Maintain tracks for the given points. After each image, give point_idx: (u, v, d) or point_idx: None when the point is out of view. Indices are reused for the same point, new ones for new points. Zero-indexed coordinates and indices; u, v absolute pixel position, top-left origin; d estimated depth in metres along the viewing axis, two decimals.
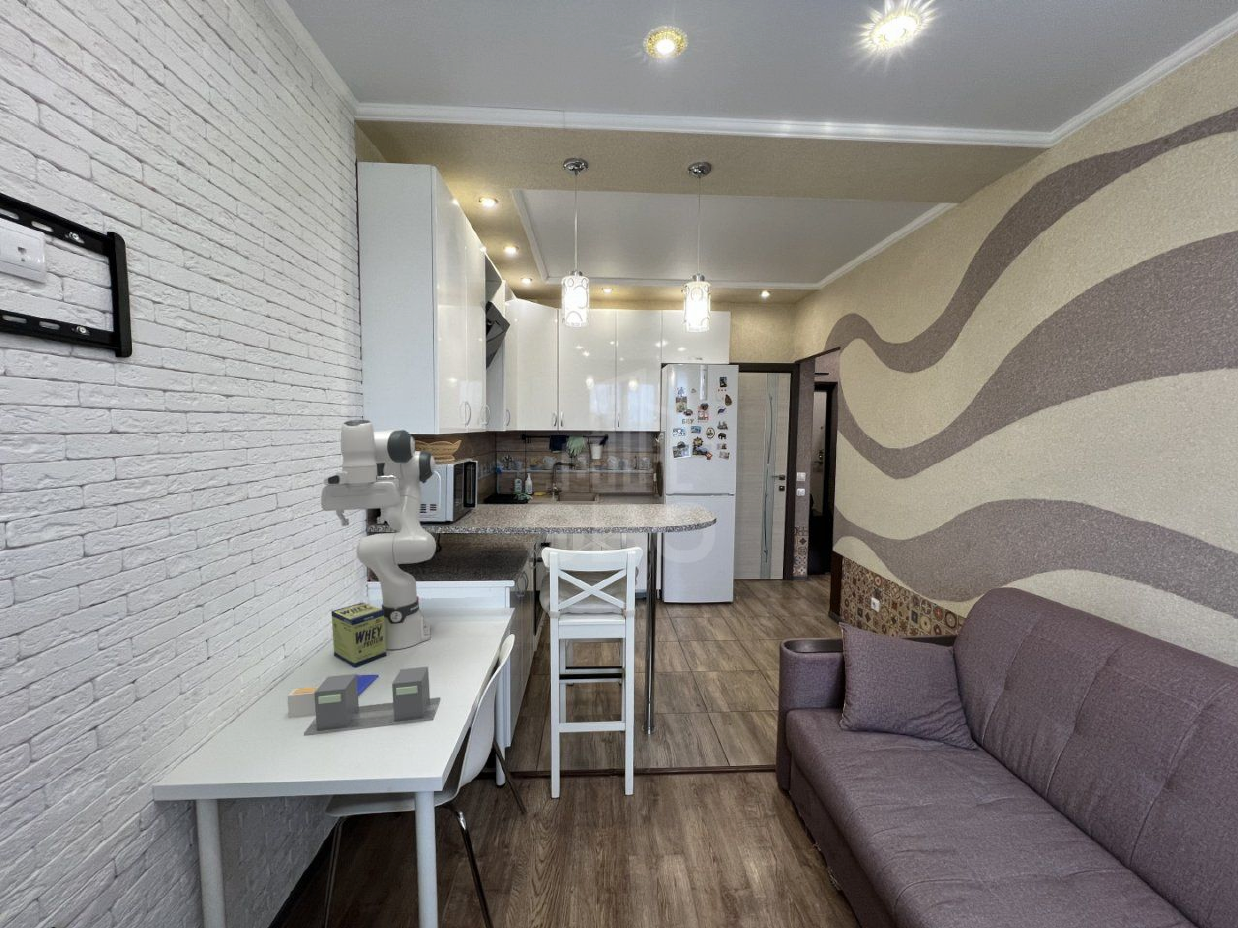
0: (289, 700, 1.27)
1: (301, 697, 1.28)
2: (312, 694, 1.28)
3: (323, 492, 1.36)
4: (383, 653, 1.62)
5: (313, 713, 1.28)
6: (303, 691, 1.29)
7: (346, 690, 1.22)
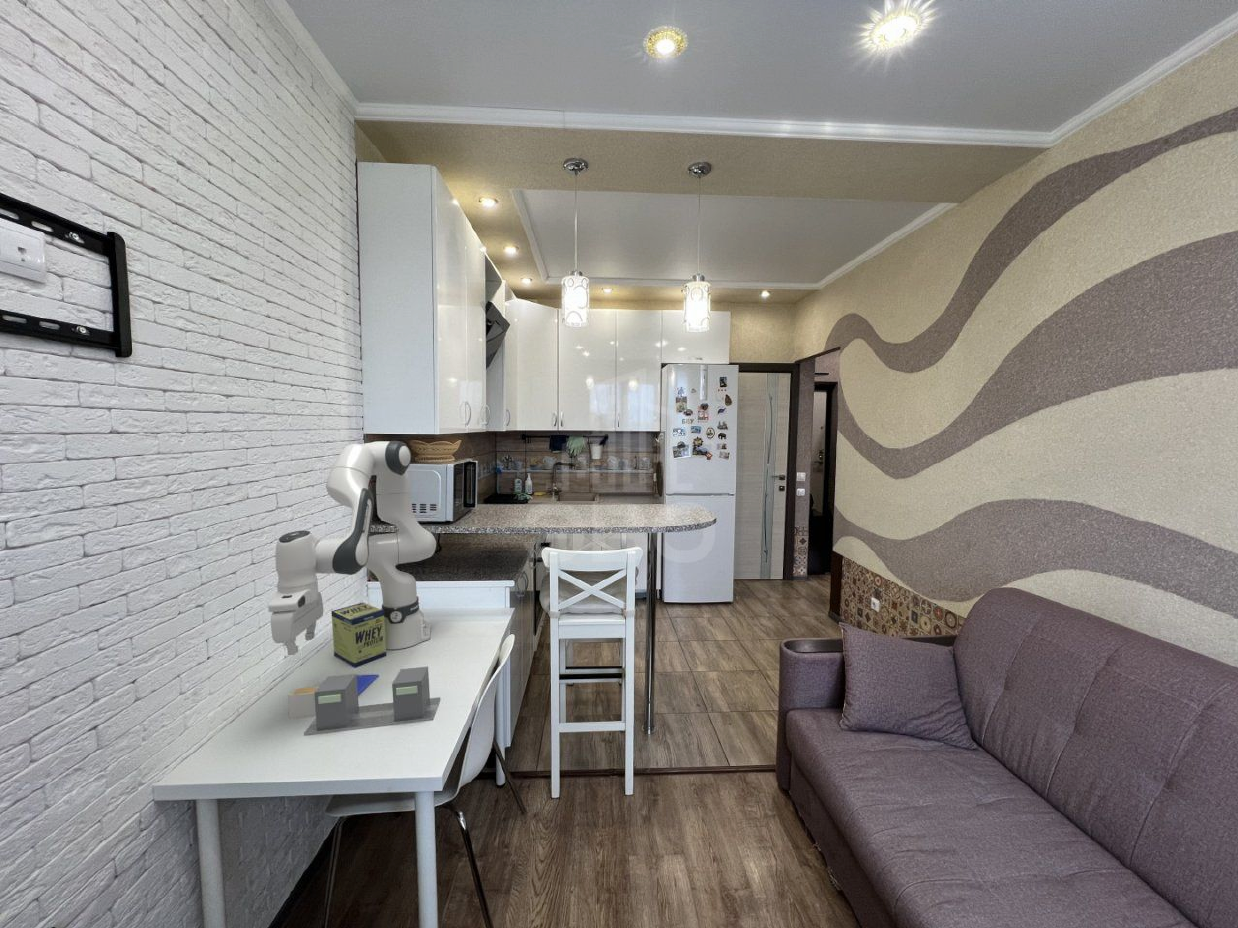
0: (289, 700, 1.27)
1: (301, 697, 1.28)
2: (312, 694, 1.28)
3: (292, 620, 1.20)
4: (383, 653, 1.62)
5: (313, 713, 1.28)
6: (303, 691, 1.29)
7: (346, 690, 1.22)
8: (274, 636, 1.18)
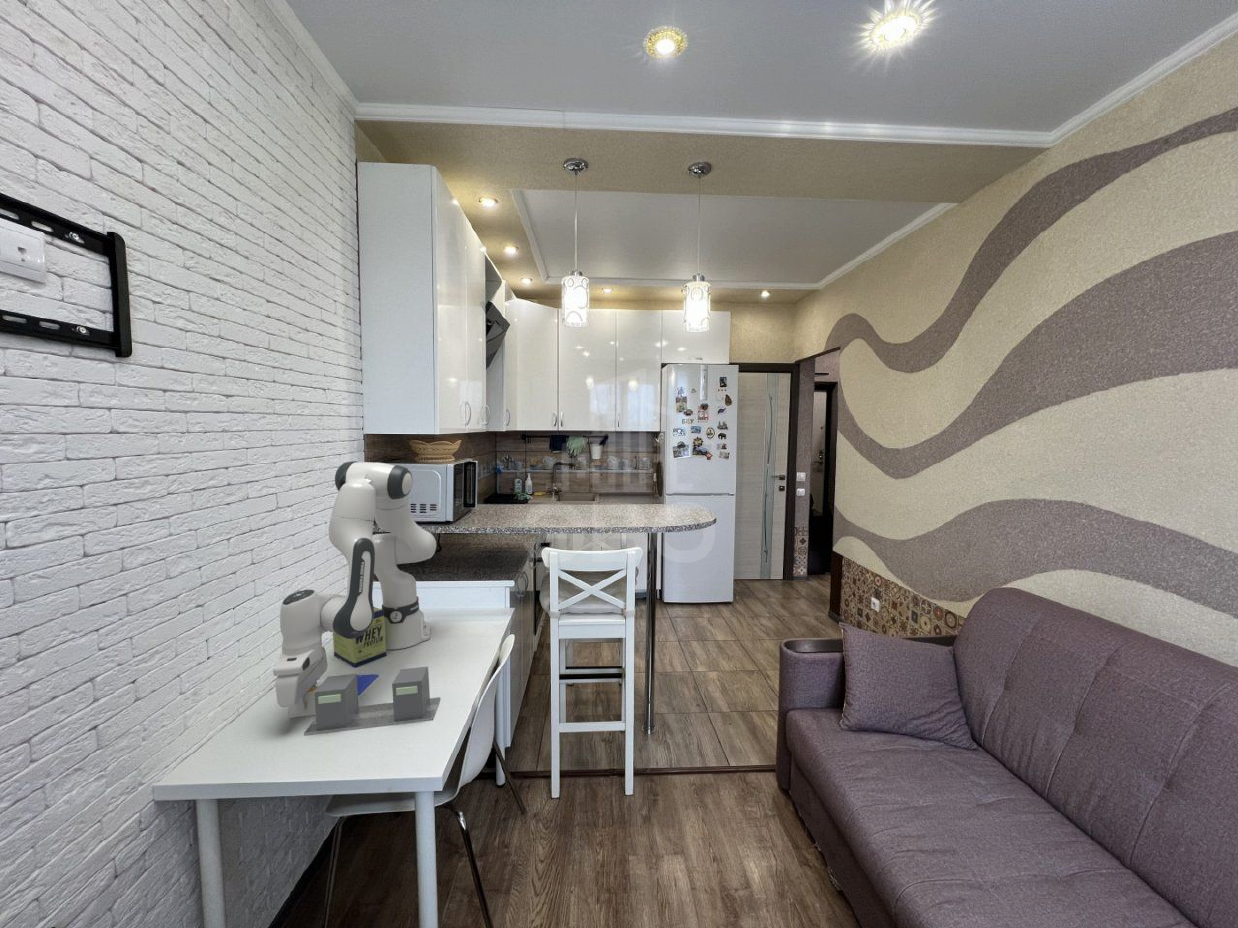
0: None
1: None
2: (312, 693, 1.28)
3: (297, 683, 1.21)
4: (383, 653, 1.62)
5: (313, 713, 1.28)
6: None
7: (346, 690, 1.22)
8: (279, 700, 1.19)
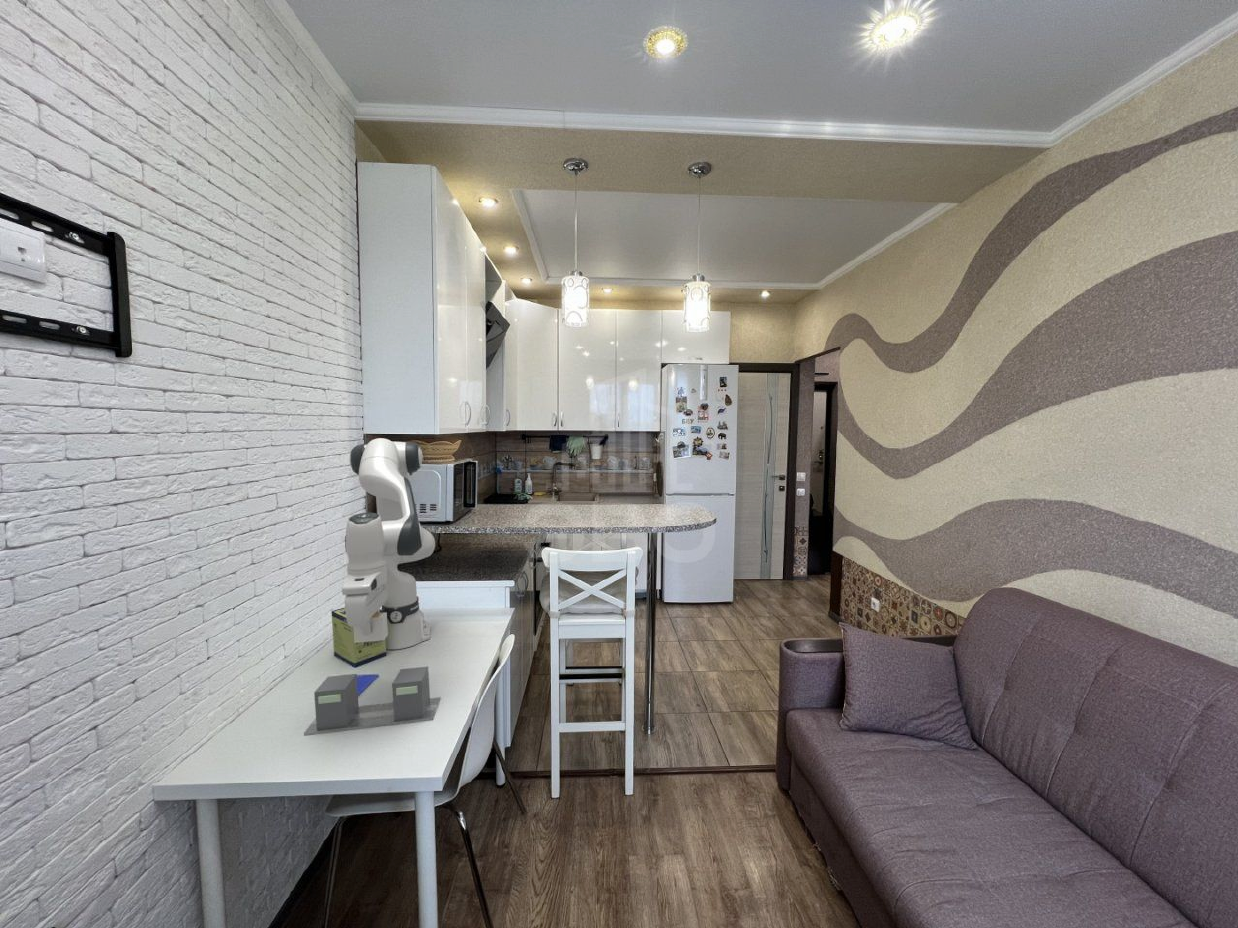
0: None
1: None
2: (378, 618, 1.24)
3: (366, 603, 1.17)
4: (383, 653, 1.62)
5: (379, 638, 1.24)
6: None
7: (346, 690, 1.22)
8: (348, 619, 1.15)
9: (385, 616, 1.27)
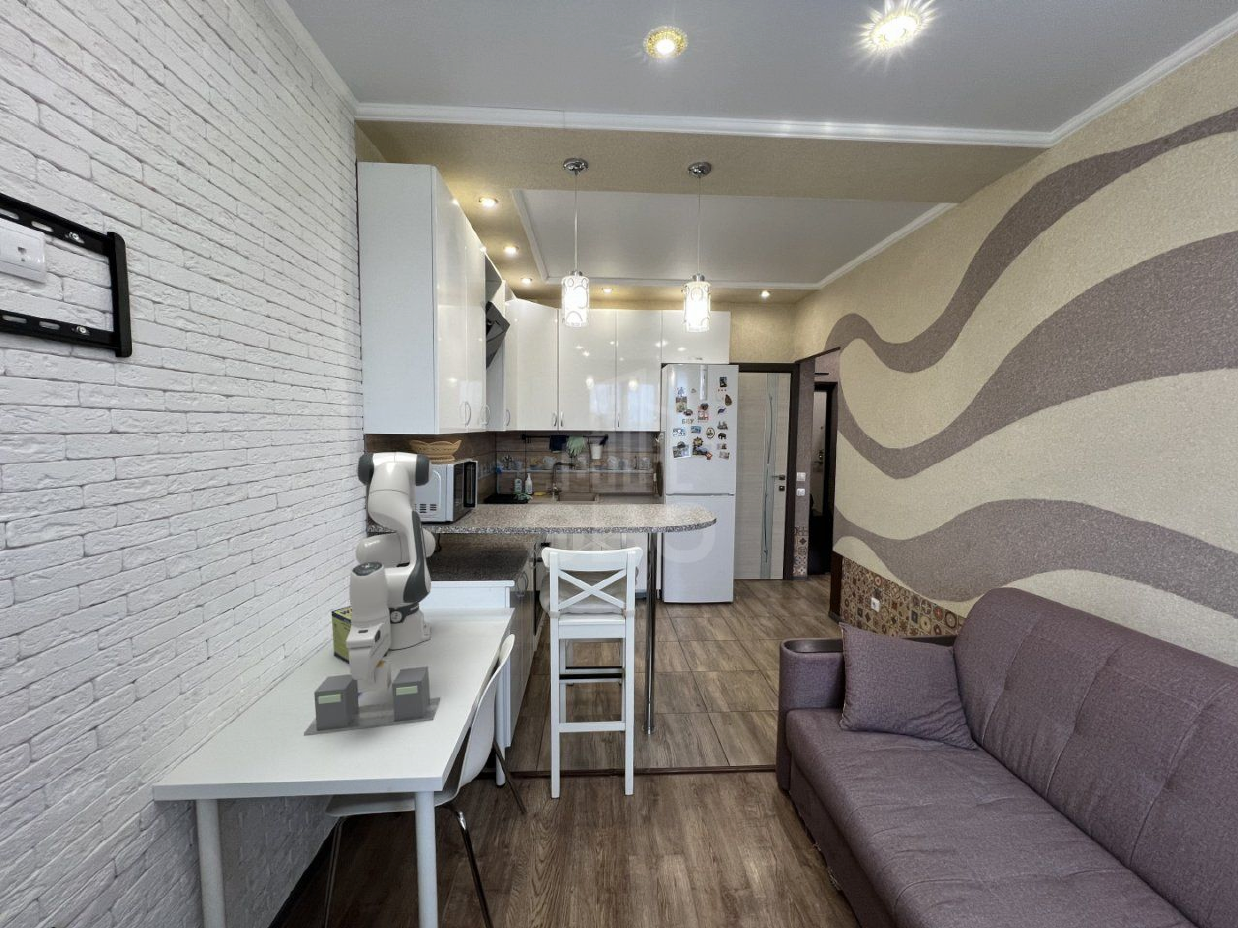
0: None
1: None
2: (381, 668, 1.25)
3: (370, 655, 1.17)
4: None
5: (382, 688, 1.25)
6: None
7: (346, 690, 1.22)
8: (353, 673, 1.16)
9: (388, 665, 1.27)
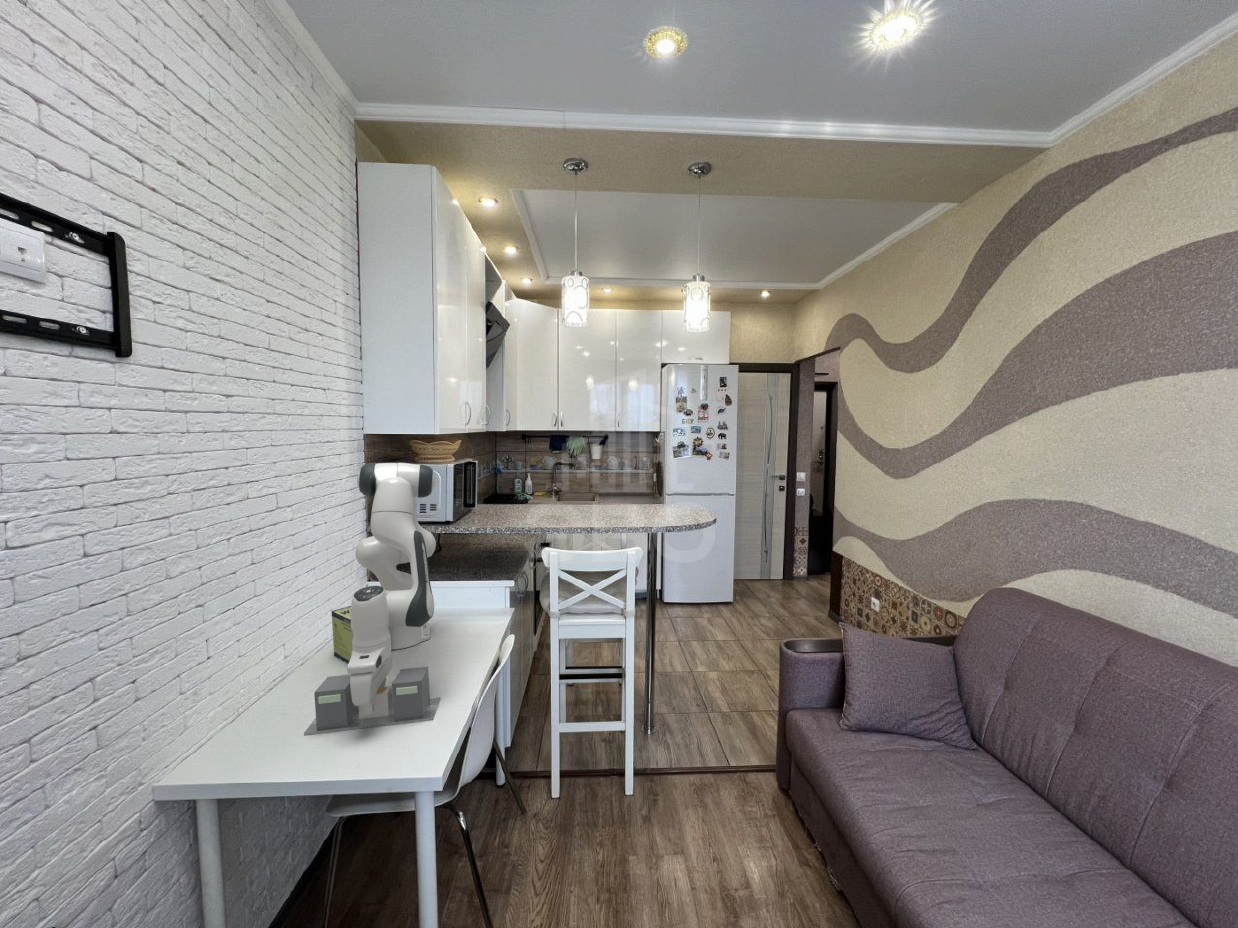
0: None
1: None
2: (382, 694, 1.25)
3: (371, 681, 1.18)
4: None
5: (383, 714, 1.26)
6: None
7: (346, 690, 1.22)
8: (354, 699, 1.16)
9: (390, 691, 1.28)
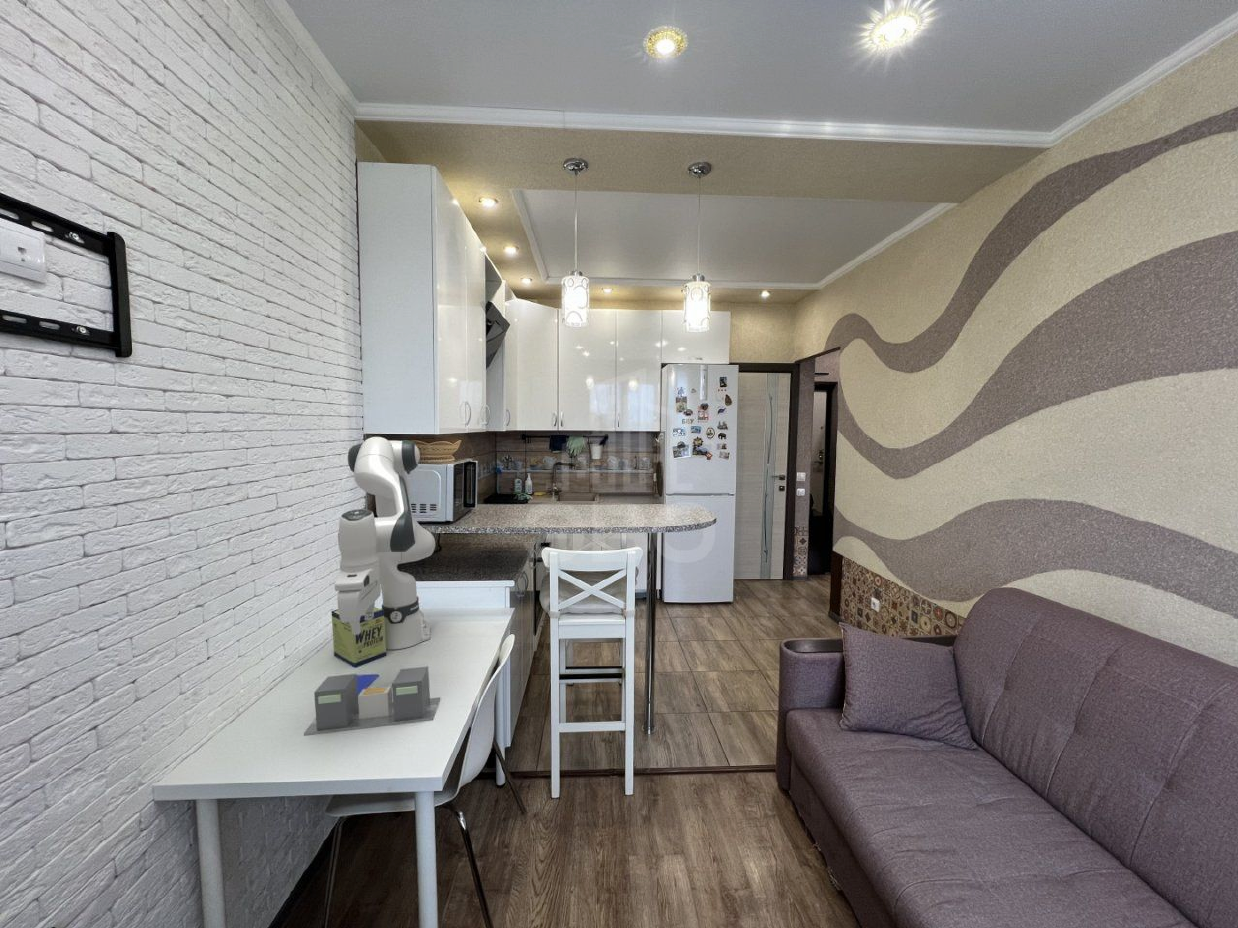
0: (360, 700, 1.25)
1: (371, 697, 1.25)
2: (382, 694, 1.25)
3: (359, 599, 1.18)
4: (383, 653, 1.62)
5: (383, 714, 1.26)
6: (373, 691, 1.26)
7: (346, 690, 1.22)
8: (341, 615, 1.16)
9: (390, 691, 1.28)
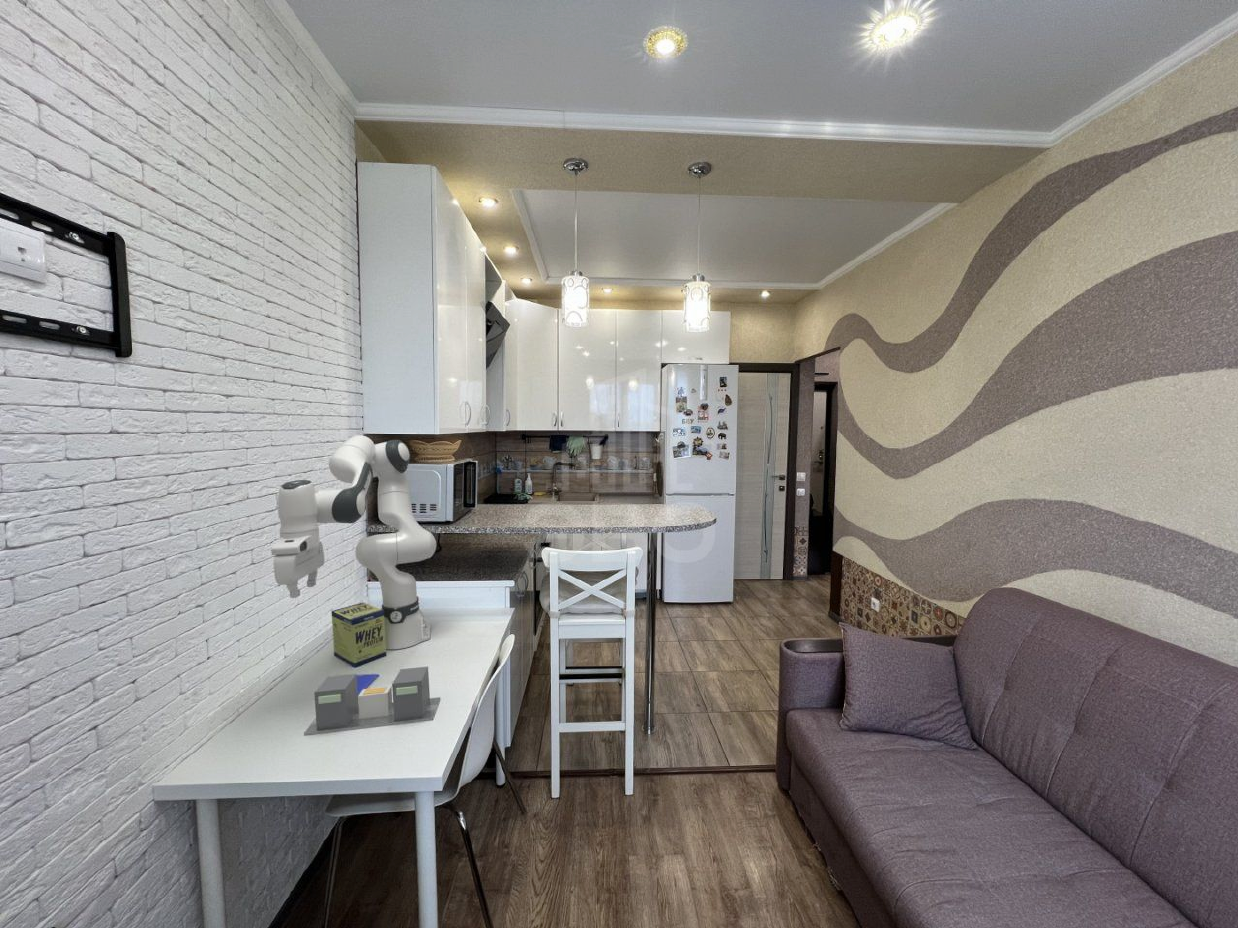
0: (360, 700, 1.25)
1: (371, 697, 1.25)
2: (382, 694, 1.25)
3: (294, 562, 1.24)
4: (383, 653, 1.62)
5: (383, 714, 1.26)
6: (373, 691, 1.26)
7: (346, 690, 1.22)
8: (277, 577, 1.22)
9: (390, 691, 1.28)
